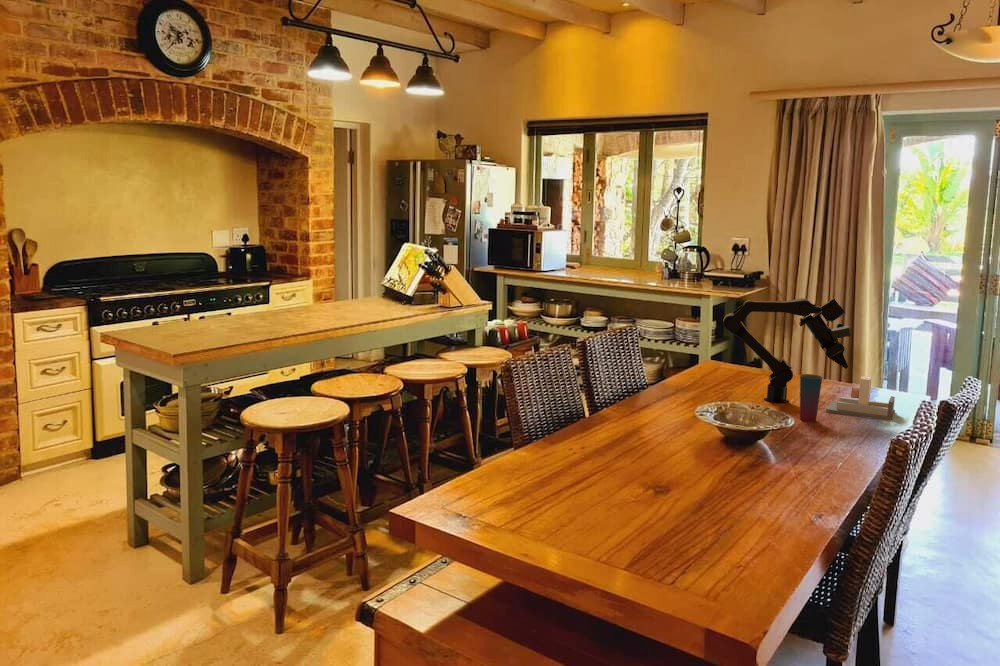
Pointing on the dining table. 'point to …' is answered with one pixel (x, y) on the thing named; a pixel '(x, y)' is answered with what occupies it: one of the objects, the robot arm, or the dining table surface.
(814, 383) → the cup
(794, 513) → the dining table surface
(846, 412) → the station
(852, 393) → the plug
